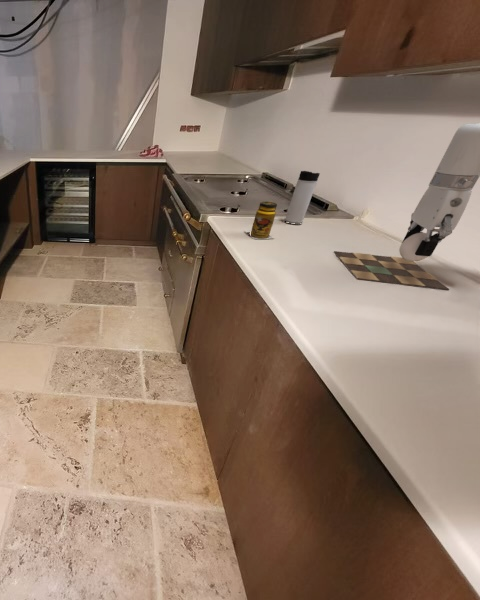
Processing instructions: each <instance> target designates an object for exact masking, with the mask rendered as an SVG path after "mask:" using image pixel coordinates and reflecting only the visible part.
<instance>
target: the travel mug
mask: <svg viewBox="0 0 480 600" xmlns="http://www.w3.org/2000/svg"><path fill="white" fill-rule="evenodd" d="M320 174H321V173H319V172H312V171H309V170H300V173H299V176H298V179H297V182H296V184H295V188H294V190H293V193H292V197H291V198H290V202H289V205H288V209H287V212H286V214H285V218H284V222H285V221H286V222H289V223H295V224H300V223H302V224H303V222H304V219H305V217H306V214H307V210H308V209H309V205H310V203H311V199H312V197H313V194H314V191H315V189H316V186H317V182H318V180H319V178H320ZM300 225H301V224H300Z"/></svg>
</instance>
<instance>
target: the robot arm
mask: <svg viewBox="0 0 480 600" xmlns="http://www.w3.org/2000/svg"><path fill="white" fill-rule="evenodd" d="M445 150H446V151H445V152H444V154H443V156H442V158H441V160H440V162H439V163H438V166H437V167H436V169H435V172H434V173H433V176H432V177H431V179H430V182H429V183H428V187H427V189H426V190H425V192H424V193H423V195H422V197H421V198H420V200H419V202H418V203H417V205H416V207H415V208H414V211H413V212H412V213H411V215H410V222H409V224H410V225H409V226H408V228H407V232H406V234H405V235H404V238H403V240H402V242H401V244H402V243H403V241H404V240H405V239H407V238H408V237H410V236H411V235H413V234H416V233H424V230H425V229H426V232H425V233H426V237H425V240H422V241H421V243H420V245H419V247H418V249H417V250H416V252H415V255H418V256H428V257H432V255H433V253H434V251H435V250H436V248H437V246H438V245H439V243H441V242H442V241H443V240H444V239H445V238H447V237H448V236H450V235H452V233H453V231H454V230H455V229H456V227H457V225H458V224H459V222H460V220H461V219H462V216H463V214H464V212H465V210H466V209H467V205H468V203H469V201H470V198H471V195H472V190H473V189H474V187H475V185H476V184H477V182H478V180H479V178H480V122H471V123H465V124H463V125H461V126H459V127H458V129H457V130H456V131H455V133H454V135H453V136H452V139H451V140H450V143H449V144H448V146H447V148H446V149H445ZM433 233H434V234H433Z"/></svg>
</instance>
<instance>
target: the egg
mask: <svg viewBox="0 0 480 600" xmlns="http://www.w3.org/2000/svg"><path fill="white" fill-rule="evenodd" d="M426 233H427V232H423V233H416V234H413V235H411V236H410V237H408V238H407V239H405V240H404V239H403V240H404V241H403V240H402V242H403V243H402V242H401V244H400V246H399V250H398V252H399V255H400V256H401V258H404V259H405V260H407V261H414V262H420V261H423V260H425V259H427V258H428V257H429V256H418V255H415V252H416V250H417V249H418V247H419V245H420V243H421V241H422V240H425V237H426Z"/></svg>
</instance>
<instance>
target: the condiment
mask: <svg viewBox="0 0 480 600" xmlns="http://www.w3.org/2000/svg"><path fill="white" fill-rule="evenodd" d="M277 207H278V204H277V203H276V202H273V201H261V202H260V203H259V206H258V209H257V210H256V213H255V215H254V219H253V222H252V227H251V230H250V231H251V236H249V235H250V234H247V233H250V232H245V233H246V234H247V235H248V236H249V237H250V238H251V239H253V240H272V239H273V240H275V238H274V237H273V236H271V235H270V233H271V231H272V227H273V224H274V221H275V217H276V214H277V212H276V210H277Z"/></svg>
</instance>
